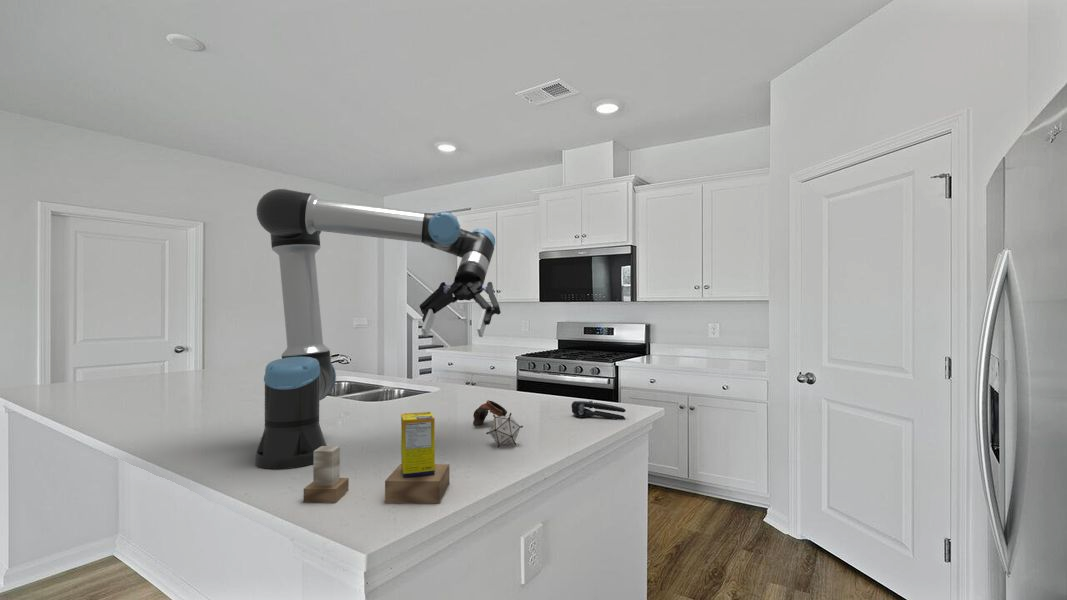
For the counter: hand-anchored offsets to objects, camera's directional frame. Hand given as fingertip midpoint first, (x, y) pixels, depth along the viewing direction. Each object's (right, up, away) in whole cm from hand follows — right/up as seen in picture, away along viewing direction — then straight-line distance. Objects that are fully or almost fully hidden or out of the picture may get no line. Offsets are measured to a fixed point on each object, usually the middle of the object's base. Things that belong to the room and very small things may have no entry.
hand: (451, 333), depth 118 cm
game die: (+12, -30, +13) cm, 35 cm away
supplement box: (-3, -26, -21) cm, 33 cm away
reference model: (-20, -29, -23) cm, 42 cm away
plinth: (-3, -29, -21) cm, 36 cm away
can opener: (+40, -31, +45) cm, 68 cm away
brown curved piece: (+5, -30, +35) cm, 47 cm away
